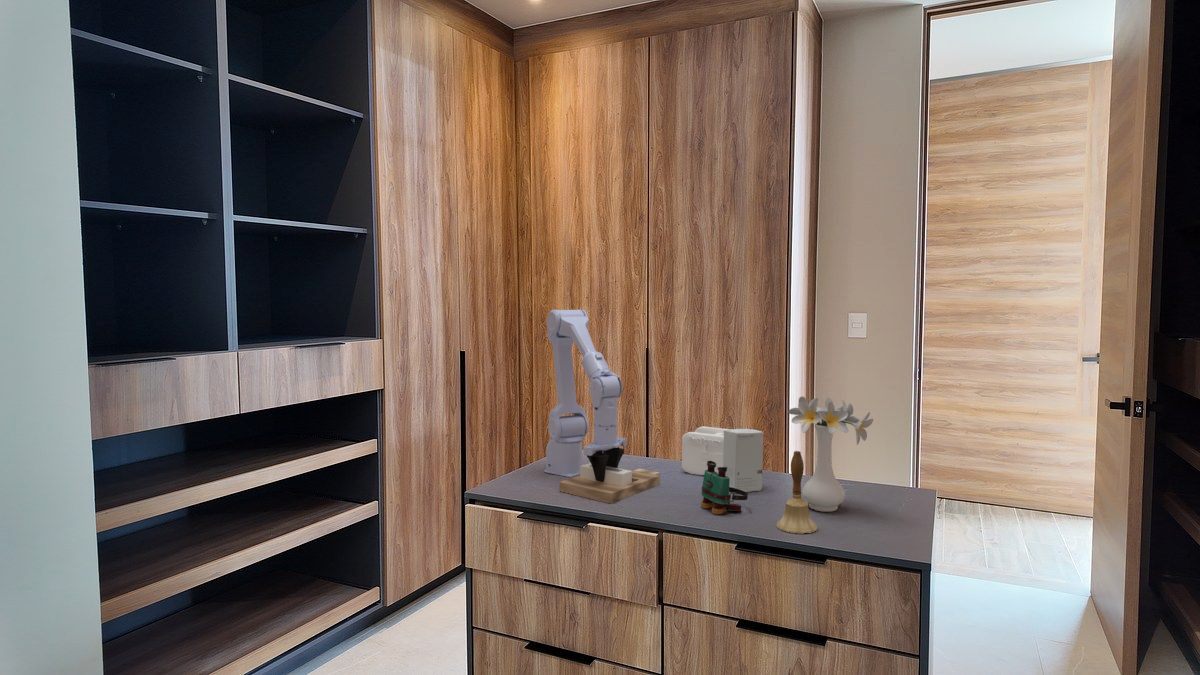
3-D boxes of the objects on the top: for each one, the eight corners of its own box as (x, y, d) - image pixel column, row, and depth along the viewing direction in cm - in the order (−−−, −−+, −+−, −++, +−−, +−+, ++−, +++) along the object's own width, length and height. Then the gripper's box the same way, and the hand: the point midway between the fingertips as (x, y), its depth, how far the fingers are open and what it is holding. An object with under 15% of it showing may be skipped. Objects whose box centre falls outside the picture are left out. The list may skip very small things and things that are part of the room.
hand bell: (771, 529, 145) (772, 453, 144) (782, 518, 152) (784, 445, 151) (812, 537, 141) (813, 458, 140) (821, 525, 148) (823, 450, 147)
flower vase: (863, 522, 150) (867, 405, 148) (778, 508, 159) (780, 399, 157) (874, 507, 161) (877, 398, 159) (793, 494, 170) (796, 392, 169)
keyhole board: (609, 475, 188) (609, 466, 188) (659, 485, 178) (659, 476, 178) (559, 491, 172) (559, 481, 172) (611, 503, 163) (611, 493, 162)
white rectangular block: (580, 484, 176) (580, 465, 176) (590, 481, 179) (590, 462, 179) (621, 494, 168) (622, 473, 168) (631, 490, 171) (631, 470, 171)
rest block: (633, 478, 185) (633, 470, 185) (639, 475, 187) (639, 468, 187) (653, 482, 181) (653, 474, 181) (659, 479, 183) (659, 472, 183)
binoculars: (756, 468, 157) (718, 468, 153) (752, 515, 157) (713, 516, 153) (734, 459, 165) (697, 459, 161) (729, 504, 165) (692, 504, 161)
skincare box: (734, 494, 171) (735, 433, 170) (721, 487, 176) (722, 429, 175) (763, 490, 174) (764, 431, 173) (749, 484, 179) (750, 426, 179)
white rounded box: (747, 473, 191) (748, 431, 190) (732, 482, 182) (733, 437, 181) (696, 466, 199) (697, 425, 198) (679, 474, 190) (680, 431, 189)
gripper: (600, 431, 165) (600, 488, 165) (636, 422, 176) (635, 475, 177) (577, 427, 169) (576, 483, 170) (613, 419, 180) (613, 471, 181)
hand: (605, 479), depth 174 cm, fingers closed on white rectangular block, 4 cm apart
